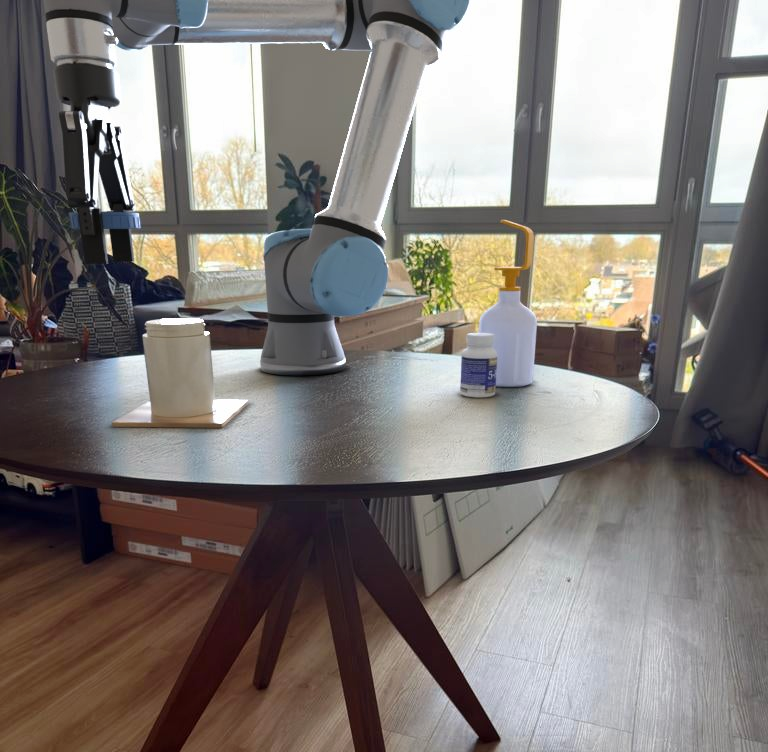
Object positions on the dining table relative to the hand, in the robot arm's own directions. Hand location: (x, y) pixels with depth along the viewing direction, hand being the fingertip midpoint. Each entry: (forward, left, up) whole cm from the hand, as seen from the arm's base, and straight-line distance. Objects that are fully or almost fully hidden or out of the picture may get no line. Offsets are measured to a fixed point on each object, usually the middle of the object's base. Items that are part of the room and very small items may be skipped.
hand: (110, 262), depth 97 cm
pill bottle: (-8, +50, -19) cm, 54 cm away
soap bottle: (-18, +55, -19) cm, 61 cm away
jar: (+7, +10, -19) cm, 22 cm away
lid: (0, 0, +6) cm, 6 cm away
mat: (+7, +10, -19) cm, 23 cm away
